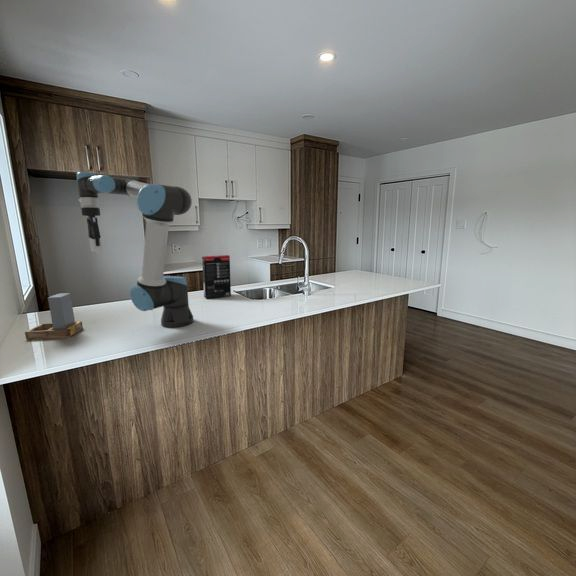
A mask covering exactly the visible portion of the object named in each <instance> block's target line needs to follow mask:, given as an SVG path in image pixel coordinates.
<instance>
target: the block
mask: <svg viewBox="0 0 576 576" xmlns="http://www.w3.org/2000/svg"><path fill="white" fill-rule="evenodd" d="M71 295H72V294H71V293H70V292H65V293H56V294H53V295H51V296H49V297H47V301H48V306H49V312H50V318H51V323H52V324H53V330H63V329H67V328H69V327H70V326H71V325H74V324H75V322H76V320H75V314H74V308H73V301H72V296H71Z"/></svg>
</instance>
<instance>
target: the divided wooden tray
mask: <svg viewBox="0 0 576 576" xmlns="http://www.w3.org/2000/svg"><path fill="white" fill-rule="evenodd" d="M83 328H84V327H83V322H82V321H75V324H74V325H71V326H70V327H69V328H67V329H63V330H53V324H52V322H49V323H48V322H47V323H40V324H38V325H36V326H34V327H33V328H31V329H29V330H26V331H25V332H24V335H25V340H26V341H27V340H28V341H30V340H45V339H62V338H64V339H65V338H71V337H72V336H73V335H75V334H76V333H78V332H80V331H81V330H82V329H83Z"/></svg>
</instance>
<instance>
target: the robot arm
mask: <svg viewBox="0 0 576 576" xmlns="http://www.w3.org/2000/svg"><path fill="white" fill-rule="evenodd" d="M76 184H77V189H78V195H79V199H78V202H79V203H80V206H81V208H80V210H81V216H84V217H87V218H86V224H87V233H88V238H89V244H90V245H89V246H90V251H91V252H95V253H94V254H102V253H103V251H102V244H101V243H102V242H101V232H100V228H99V224H98V218H97V217H100V216H101V209H100V199H99V195H98V194H109V195H121V196H122V195H123V196H128V197H132V198H136V202H137V203H136V205H137V207H138V209H139V211H140V213H142V217H143V219H144V220H145V222H146V225H145V234H144V235H145V236H144V245H143V246H144V248H143V258H142V269H141V275H140V276H139V277H137V282H136V285H133V286H132V287H131V288H130V292H129V297H130V300H131V302H132V303H133V306H135V308H136V309H138V311H142V312H147V311H152V310H156V309H158V308H162V307H163V311H162V314H161V318H160V325H161V326H162V327H165V328H179V327H185V326H189V325H191V324H193V323H194V315H193V313H192V311H191V309H190V305H189V292H188V291H189V290H188V282H187V279H186V278H185V277H184V276H177V275H176V276H175V275H173V276H172V275H171V276H170V275H169V276H168V275H166V276H165V275H164V273H165V272H164V271H165V263H166V253H167V246H168V235H169V228H170V227H169V226H170V224H172V223H174V219H175V218H174V217H175V216H180V215H184V214H186V213H187V212H189V210H190V209H191V207H192V202H193V201H192V196H191V195H190V193H189V192H188V190H186V189H185V188H184V187H181V186H174V185H173V186H172V185H167V184H166V185H165V184H160V183H159V184H157V183H145V182H141V181H137V180H135V179H131V178H120V177H114V176H113V177H112V176H110V175H106V174H104V175H103V174H99V175H96V174H95V173H93V172H87V171H84V172H83V171H82V172H81V171H80V172H76Z"/></svg>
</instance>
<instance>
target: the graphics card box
mask: <svg viewBox="0 0 576 576" xmlns="http://www.w3.org/2000/svg"><path fill="white" fill-rule="evenodd" d="M230 258H231V256H230V255H229V254H226V255H209V256H208V255H206V256H201V261H202V263H201V264H202V266H201V267H202V277H203V278H202V279H203V280H202V282H203V297H204V298H205V299H206V300H207V299H214V298H217V299H218V298H225V297H226V296H227V297H231V296H232V291H231V290H232V289H231V288H232V287H231V259H230Z"/></svg>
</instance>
